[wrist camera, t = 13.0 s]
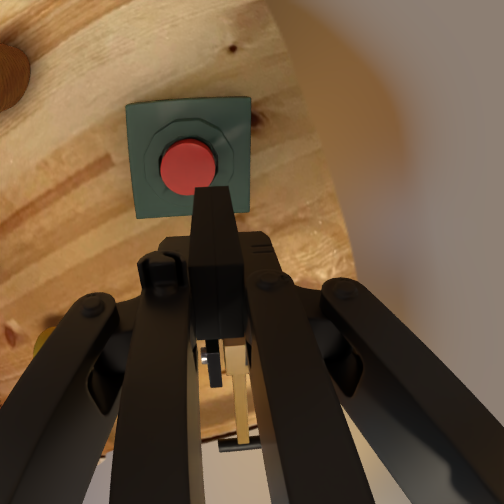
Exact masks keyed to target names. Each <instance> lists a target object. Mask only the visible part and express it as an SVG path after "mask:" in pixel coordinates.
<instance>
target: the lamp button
mask: <svg viewBox="0 0 504 504" xmlns="http://www.w3.org/2000/svg"><path fill="white" fill-rule="evenodd" d="M160 172H161V177H162V179H163V182H164V183H165V185H166V186H167V187H168V188H169V189H170V190H172V191H173V192H175V193H178V194H181V195H194V191H195V187H208V186H209V185H210V183H211V182H212V180H213V178H214V175H215V161H214V156H213V154H212V152H211V150H210V149H209V147H208V146H207V145H206V144H204V143H203V142H201V141H199V140H195V139H183V140H180V141H177V142H175V143H174V144H173V145H171V146H170V147H169V148H168V150H167V151H166V153H165V155H164V157H163V159H162V162H161V167H160Z"/></svg>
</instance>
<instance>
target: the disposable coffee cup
mask: <svg viewBox="0 0 504 504" xmlns="http://www.w3.org/2000/svg"><path fill="white" fill-rule="evenodd" d="M29 78H30V65H29V61H28V58H27V56H26V55H25V53H24V52H23V51H21V50H20V49H18V48H14V47H11V46H8V45H5V44H2V43H0V112H3V111H4V110H6V109H9V108H11V107H12V106H14V105H15V104H16V103H17V102H18V101H19V100H20V99H21V97H22V96H23V95H24V93H25V90H26V88H27V86H28V82H29Z"/></svg>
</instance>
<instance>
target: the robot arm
mask: <svg viewBox="0 0 504 504" xmlns="http://www.w3.org/2000/svg"><path fill="white" fill-rule="evenodd" d="M137 267H138V272H139V277H140V282H141V286H142V292H141V295H140V296H138V297H136V298H133V299H130V300H127V301H123V302H119V303H115V299H114V298H113V297H112V296H111V295H110V294H106V293H103V292H95V293H90V294H87V295H85V296H83V297H81V298H79V299H78V300H77V301H76V302H75V303H74V304H73V305H72V307H71V308H70V309H69V310H68V312H67V313H66V314H65V316H64V317H63V318H62V320H61V321H60V322H59V324H58V325H57V326H56V328H55V329H54V330H53V332H52V333H51V334H50V336H49V337H48V338H47V340H46V341H45V343H44V344H43V345H42V347H41V348H40V350H39V351H38V352H37V354H36V355H35V357H34V358H33V360H32V361H31V363H30V364H29V365H28V367H27V368H26V370H25V371H24V373H23V374H22V376H21V377H20V379H19V380H18V382H17V383H16V385H15V387H14V388H13V390H12V391H11V393H10V394H9V396H8V398H7V399H6V401H5V402H4V404H3V406H2V407H1V409H0V504H82V503H83V500H84V497H85V494H86V492H87V489H88V487H89V484H90V482H91V479H92V476H93V474H94V471H95V468H96V466H97V464H98V461H99V459H100V456H101V454H102V451H103V449H104V446H105V444H106V441H107V439H108V437H109V434H110V432H111V429H112V427H113V425H114V422H115V420H116V418H117V415H118V419H117V426H116V434H115V442H114V451H113V461H112V471H111V483H110V497H109V504H205V494H204V481H203V467H202V451H201V432H200V410H199V380H198V350H197V343H196V338H197V340H211V339H228V338H242V337H244V332H245V366H247V365H248V369H249V375H250V381H251V388H252V394H253V400H254V406H255V412H256V418H257V424H258V430H259V436H260V442H261V447H262V453H263V459H264V464H265V470H266V476H267V481H268V487H269V492H270V498H271V503H272V504H375V501H374V498H373V495H372V492H371V489H370V486H369V483H368V480H367V478H366V475H365V472H364V469H363V466H362V463H361V460H360V458H359V455H358V452H357V449H356V446H355V443H354V440H353V438H352V435H351V432H350V430H349V427H348V424H347V421H346V418H345V416H344V413H343V410H342V408H341V405H342V406H343V407H344V409H345V411H346V412H347V413H348V415H349V416H350V418H351V419H352V421H353V422H354V423H355V425H356V426H357V427H358V429H359V430H360V432H361V433H362V435H363V436H364V437H365V439H366V440H367V442H368V443H369V444H370V446H371V447H372V449H373V450H374V451H375V453H376V454H377V456H378V457H379V459H380V460H381V461H382V463H383V464H384V466H385V467H386V468H387V469H388V471H389V472H390V474H391V475H392V477H393V478H394V480H395V481H396V482H397V484H398V485H399V486H400V488H401V489H402V491H403V492H404V493H405V495H406V496H407V498H408V499H409V500H410V502H411V503H412V504H504V427H503V426H502V425H501V424H500V423H499V422H498V420H497V419H496V418H495V417H494V416H493V415H492V414H491V413H490V412H489V411H488V409H486V407H485V406H484V405H483V404H482V403H481V402H480V401H479V400H478V399H477V398H476V397H475V395H473V393H472V392H471V391H470V390H469V389H468V388H467V387H466V386H465V385H464V384H463V383H462V382H461V381H460V380H459V379H458V378H457V377H456V376H455V375H454V373H453V372H452V371H451V370H450V369H449V368H448V367H447V366H446V365H445V364H444V363H443V362H442V361H441V360H440V359H439V358H438V357H437V356H436V355H435V354H434V353H433V352H432V351H431V350H430V349H429V348H428V347H427V346H426V345H425V344H424V343H423V342H422V341H421V340H420V339H419V338H418V337H417V336H416V335H415V334H414V333H413V332H412V331H411V330H410V329H409V328H408V327H407V326H405V324H403V323H402V322H401V321H400V320H399V319H398V318H397V317H396V316H395V315H394V314H393V313H392V312H391V311H390V310H389V309H388V308H387V307H386V306H385V305H384V304H383V303H382V302H380V301H379V300H378V299H377V298H376V297H375V296H374V295H373V294H372V293H371V292H370V291H369V290H368V289H367V288H366V287H365V286H363V285H362V284H360V283H359V282H357V281H355V280H352V279H349V278H341V277H340V278H332V279H330V280H327V281H326V282H325V283H324V284H323V285H322V289H321V290H314V289H307V288H302V287H299V286H296V285H294V282H293V280H292V279H291V277H290V276H289V275H288V274H286V273H284V272H282V269H281V267H280V264H279V261H278V259H277V256H276V253H275V251H274V248H273V246H272V243H271V240H270V238H269V237H268V236H267V235H266V234H264V233H263V232H262V231H255V232H238V231H237V226H236V221H235V216H234V211H233V206H232V201H231V196H230V191H229V186H211V187H195V191H194V201H193V211H192V222H191V233H190V236H177V237H166V238H165V239H164V240H163V241H162V242H161V243H160V244H159V248H158V251H154V252H151V253H148V254H146V255H145V256H143V257H142V258H140V260H139V261H138V263H137ZM340 404H341V405H340Z"/></svg>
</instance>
